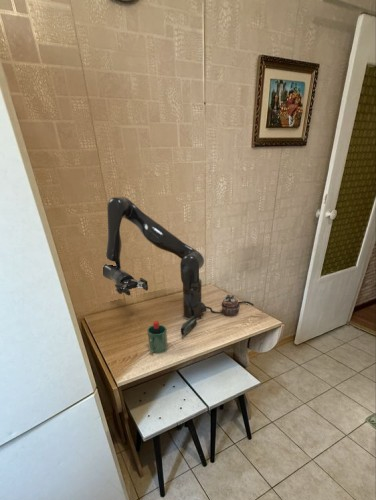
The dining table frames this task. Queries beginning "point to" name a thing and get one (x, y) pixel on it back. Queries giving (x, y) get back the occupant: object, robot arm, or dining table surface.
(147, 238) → the robot arm
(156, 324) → the marker
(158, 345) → the mug
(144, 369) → the dining table surface
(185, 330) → the mobile phone
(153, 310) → the dining table surface
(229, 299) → the cupcake
